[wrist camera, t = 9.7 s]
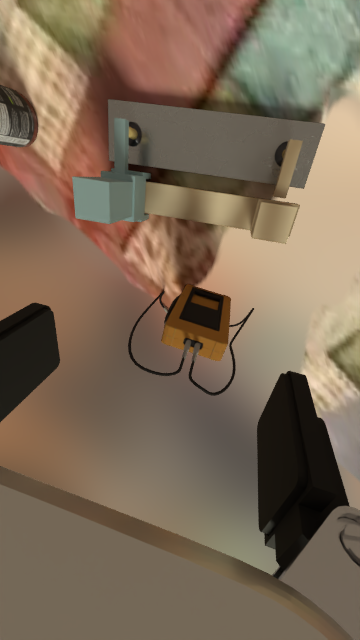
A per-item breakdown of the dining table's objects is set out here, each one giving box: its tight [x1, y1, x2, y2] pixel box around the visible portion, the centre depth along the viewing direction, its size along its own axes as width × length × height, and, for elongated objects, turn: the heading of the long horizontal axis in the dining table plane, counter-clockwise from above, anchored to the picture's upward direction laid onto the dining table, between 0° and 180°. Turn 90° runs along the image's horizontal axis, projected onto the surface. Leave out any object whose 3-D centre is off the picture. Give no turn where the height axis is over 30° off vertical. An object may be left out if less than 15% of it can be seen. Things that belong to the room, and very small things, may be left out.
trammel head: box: [72, 118, 151, 224], centre depth 28 cm, size 4×10×12 cm, turn 174°
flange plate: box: [108, 99, 325, 189], centre depth 29 cm, size 24×6×1 cm, turn 84°
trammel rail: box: [144, 139, 303, 244], centre depth 29 cm, size 24×9×7 cm, turn 84°
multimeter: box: [128, 284, 254, 396], centre depth 33 cm, size 15×10×20 cm
